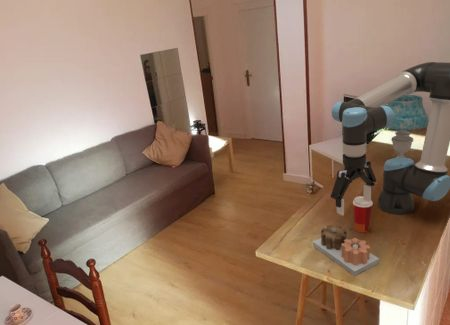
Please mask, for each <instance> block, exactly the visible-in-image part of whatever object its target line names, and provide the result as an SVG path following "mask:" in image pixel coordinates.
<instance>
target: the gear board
mask: <svg viewBox="0 0 450 325" xmlns="http://www.w3.org/2000/svg"><path fill="white" fill-rule="evenodd" d="M312 246H313V247H314V248H316V249H317V251H319V252H321V254H324V256H326V257H328V259H331V260H332V261H333V262H334V263H336V264H338V266H340V267H341V268H343V269H344V270H345V271H347V272H348V273H350V274H351V275H352V276H354V277H355V276H357V275H359V274H361V273H363V272H364V271H365V272H366V271H367V270H368V269H370V268H373V267H374V266H376V265H378V264H379V263H380V262H379V261H380V258H379V257H378V256H376V255H374V254H373V253H371V252H370V256H369V260H368V259H367V263H366V264H362V263H361V264H358V266H357V265H353V263H350V262H348V263H346V262H345V261H344V257H341V256H342V247H340V250H336V249H335V248H331V250H330V249H327V246H326V245H324V246H322V244H321V237H320V238H319V237H318V238H317V239H316V240H313V241H312ZM353 248H355V249H358V245H356V244H354V245H353Z"/></svg>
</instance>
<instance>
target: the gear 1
mask: <svg viewBox="0 0 450 325" xmlns="http://www.w3.org/2000/svg"><path fill="white" fill-rule="evenodd" d="M320 238H321V244H322V246H324V245H326V246H327V249H330V250H331V248H335V249H336V250H340V247H342V243H344V240H346V239H348V238H347V230H346V229H345V228H343V229H342V227H341V226H340V225H336V226H332V225H327V227H326V228H325V227H323V228H322V229H321V232H320Z"/></svg>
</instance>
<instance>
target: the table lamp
mask: <svg viewBox="0 0 450 325" xmlns="http://www.w3.org/2000/svg"><path fill="white" fill-rule="evenodd" d="M423 99H424V98H423V96H420V95H416V94H409V95H405V94H404V95H402V96H401V97H399V98H397V99H395V100H393V101H391V102H389V103H387V106H388V107H390V108H391V109H392V110H393V112H394V121H393V123H392V124H391V125H390V126H387V127H385V128H384V129H388V130H394V131H395V130H396V131H395V133H394V136H392V137H391V139H390V140H391V142H392V147H393V150H394V151H395V152H396V153H397V156H395V157H394V158H407V157H406V155H405V154H406V153H407V152H409V150H410V149H411V147H412V143H413V142H414V138H413V137H412V136H411V132H410V131H416V130H421V129H425V128H427V126H428V122H429V116H428V114H427V113H426V109H425V107H424V104H423V102H424V100H423Z"/></svg>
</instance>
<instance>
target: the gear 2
mask: <svg viewBox="0 0 450 325" xmlns="http://www.w3.org/2000/svg"><path fill="white" fill-rule="evenodd" d="M354 244H356V245H358V249H355V248H353V245H354ZM370 253H371V247H370V245H369V244H367V241H366V240H364V239H363V240H360V239H358V238H356V237H353V238H352V239H348V238H347V239H346V240H344V243H342V256H341V257H344V261H345V262H346V263H348V262H350V263H353V265H357V266H358V264H361V263H362V264H366V263H367V259H368V260H369V256H370Z"/></svg>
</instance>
